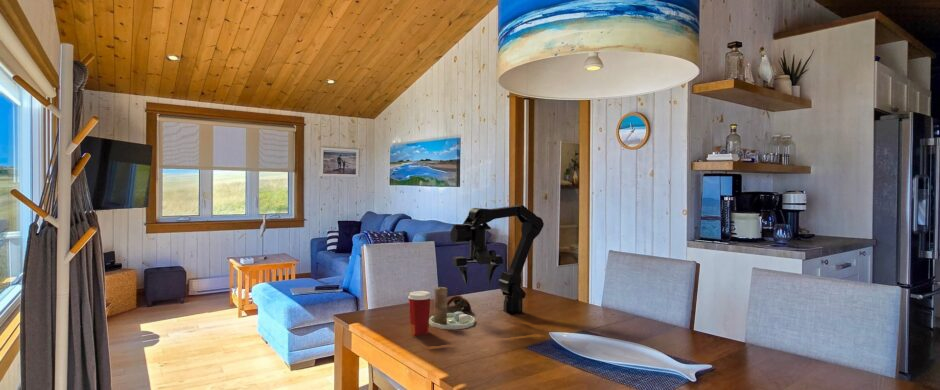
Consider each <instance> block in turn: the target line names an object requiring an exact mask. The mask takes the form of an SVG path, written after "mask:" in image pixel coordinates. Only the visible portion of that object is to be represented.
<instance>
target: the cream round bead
mask: <svg viewBox="0 0 940 390" xmlns="http://www.w3.org/2000/svg"><path fill="white" fill-rule="evenodd" d="M469 315H470V314H465V313H464V314H461V315H459V323H461V324H466V323H469Z"/></svg>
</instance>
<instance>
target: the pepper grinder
mask: <svg viewBox="0 0 940 390" xmlns="http://www.w3.org/2000/svg"><path fill="white" fill-rule="evenodd" d="M433 293H434V300H433V302H434V303H433V305H434V307H433V308H434V310H433V311H434V313H433V316H434V323H437V324H441V325H446V324H447V301H448V288H447V287H444V286H437V287H434V292H433Z"/></svg>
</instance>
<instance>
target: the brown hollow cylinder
mask: <svg viewBox="0 0 940 390" xmlns="http://www.w3.org/2000/svg"><path fill="white" fill-rule="evenodd" d="M451 303H453V304H454V305H450V304H451ZM462 309H463V310H462ZM463 311H467V312H468V311H469V312H470V314H472V307H471V304H470V301H468V299H466V298H465V297H463V296H462V295H458V294H457V295H454V296H452V297H450V298H449V299H447V313H454V312H463Z"/></svg>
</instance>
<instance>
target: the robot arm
mask: <svg viewBox="0 0 940 390" xmlns="http://www.w3.org/2000/svg"><path fill="white" fill-rule="evenodd" d="M510 217H516V218H517V219H518V221H519V222H520V223H521V227H520V229H521V237H520V239H519V242H518V245H517V247H516V250H515V252H514V255H513V258H512V261H511V264H510V266H509V269H508V270H507V271H506V272H505V271H502V272H501V275H500V278H499V279H498V287H499V290H500V291H501V292H502V295H503V296H504V300H503V309H502V311H503V312H504V313H506V314H508V315H510V316H513V315H520V314H525V311H523V300H524V299H525V298H526V295H527V293H526V292H525V290H523V288H522V271H523V269H524V266H525V263H526V261H527V258H528V256H529V252H530V250H531V247H532V246H533V243H534V240H535V239H536V238H537V237H538V236H539V235H540V234H541V232H542V230H543V229H544V225H545V224H544V223H545V222H544V221H543V218H541V217H539V216H537V214H535V213H534V212H532V211H531V210H529V209H528V208H527V207H526V206H525V205H521V204H515V205H510V206H504V207H496V208H482V207H472V208H471V209H470V210H469V212H468V215H467V217H466V218H465V220H464V221H463V223H462V224H457V223H456V224H452V225H453V226H452V228H451V230H450V236H449V237H450V240H451V242H452V243H453V244H462V243H469V242H470V243H469V251H470V253H469V254H468V257H465V256H462V255H461V256H460V255H459V256H453V257H452V259H451V264H452V265H453V266H455V267H456V268H458V269H459V271H460V273H461V276H462V279H463V281H464V284H465V285H468V266H467V264H479V265H480V266H481V265H486V266H487V269H486V270H487V272H486V273H487V274H486V275H487V283H491V281H492V277H493V274H494V272H495V270H496V269H497V268H498V267H500V266H501V265H502V264H504V257H503V256H502V255H499V254H497V251H496V249H490V250H488V245H487V244H486V242H487V241H486V240H487V239H486V238H487V236H486V235H487V234H486V233H487V230H491V229H492V227H491V226H490V225H489V224H488V223H490V222H492V221H494V220H496V219H504V218H510Z"/></svg>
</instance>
